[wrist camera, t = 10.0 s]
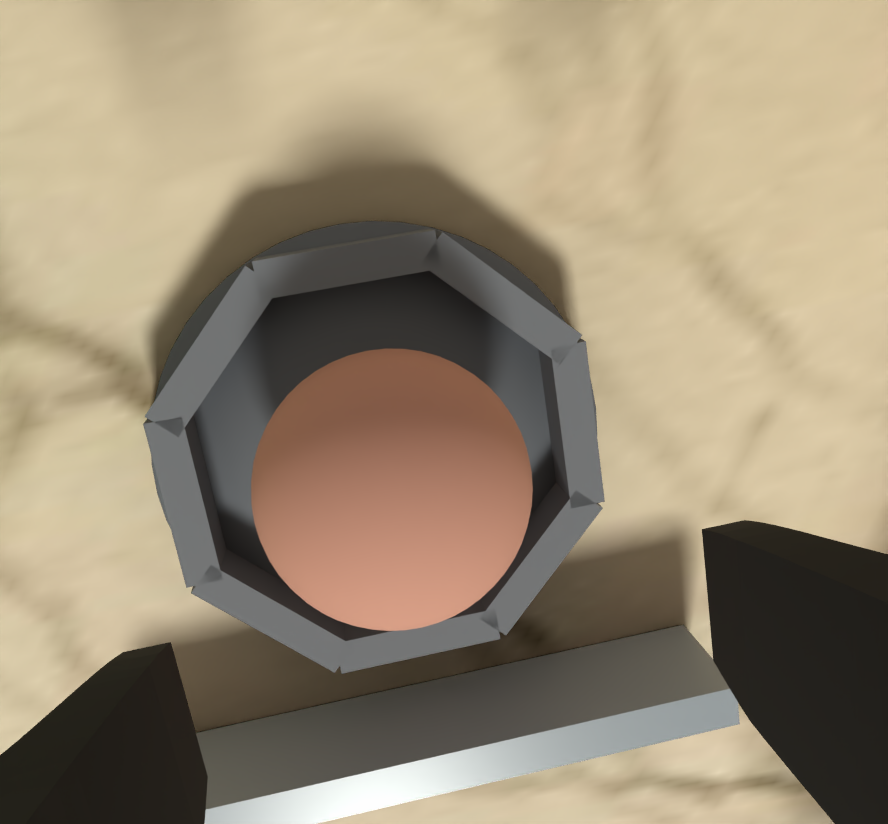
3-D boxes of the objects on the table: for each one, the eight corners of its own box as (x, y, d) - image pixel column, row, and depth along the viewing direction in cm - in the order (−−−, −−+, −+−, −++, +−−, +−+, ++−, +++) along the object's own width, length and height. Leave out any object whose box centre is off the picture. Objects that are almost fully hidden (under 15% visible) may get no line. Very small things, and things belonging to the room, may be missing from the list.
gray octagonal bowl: (613, 595, 22) (635, 624, 20) (212, 682, 21) (202, 720, 19) (565, 186, 19) (586, 184, 18) (101, 264, 18) (80, 269, 17)
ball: (513, 534, 21) (585, 648, 15) (287, 583, 20) (278, 720, 15) (480, 310, 19) (546, 348, 14) (235, 355, 19) (203, 413, 13)
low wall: (686, 657, 23) (739, 724, 20) (161, 776, 21) (136, 865, 18) (683, 624, 22) (736, 686, 19) (151, 742, 21) (124, 828, 18)
